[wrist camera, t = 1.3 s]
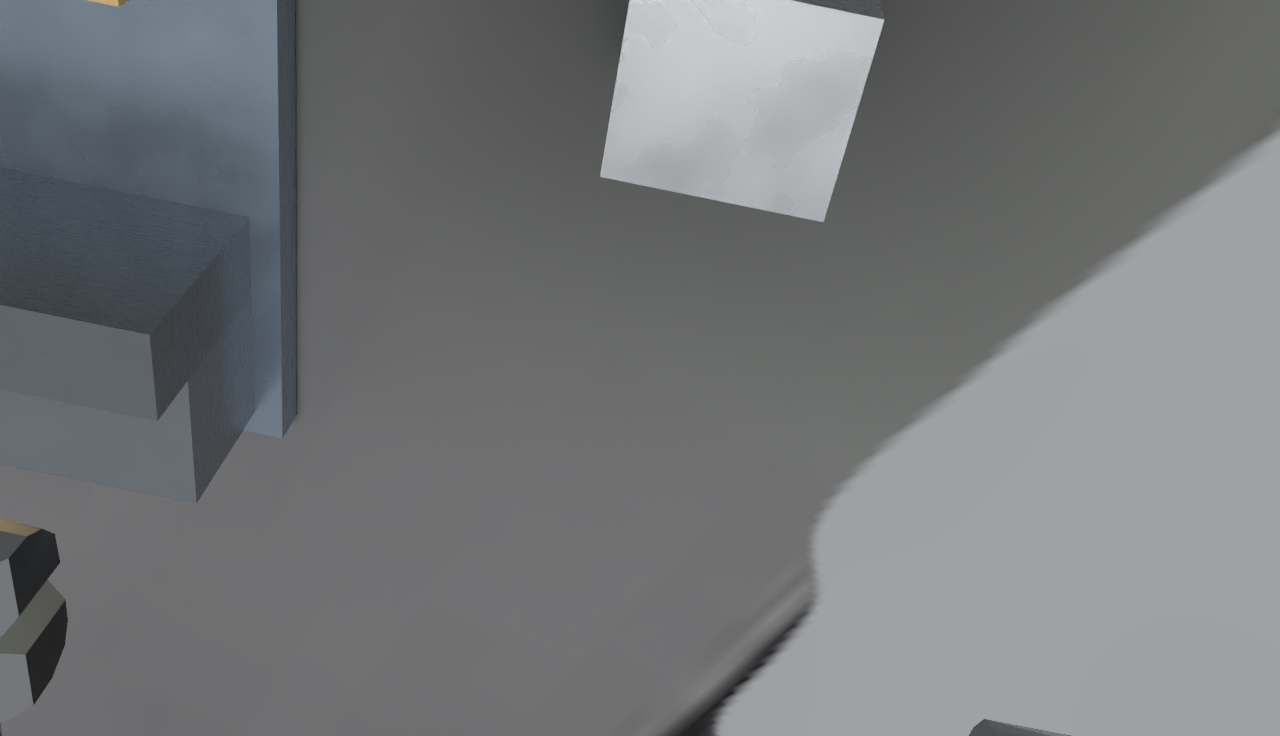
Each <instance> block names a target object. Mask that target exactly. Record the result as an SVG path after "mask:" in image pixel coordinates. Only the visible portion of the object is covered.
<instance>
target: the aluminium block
mask: <svg viewBox="0 0 1280 736" xmlns="http://www.w3.org/2000/svg"><path fill="white" fill-rule="evenodd" d="M883 23H884V16H883V12H882V8H881V4H880V0H629V6H628V12H627V18H626V24H625V30H624V36H623V42H622V48H621V54H620V60H619V66H618V72H617V78H616V84H615V90H614V96H613V102H612V108H611V114H610V120H609V126H608V132H607V138H606V144H605V150H604V156H603V162H602V167H601V173H600V177H604V178H608V179H613V180H618V181H623V182H628V183H633V184H638V185H643V186H648V187H653V188H658V189H662V190H667V191H672V192H677V193H682V194H687V195H692V196H697V197H702V198H707V199H712V200H717V201H721V202H726V203H731V204H736V205H741V206H746V207H751V208H756V209H761V210H766V211H771V212H775V213H780V214H785V215H790V216H795V217H800V218H805V219H810V220H815V221H820V222H824V219H825V216H826V212H827V209H828V206H829V202H830V199H831V196H832V192H833V189H834V186H835V182H836V179H837V176H838V172H839V169H840V166H841V163H842V159H843V156H844V153H845V149H846V146H847V143H848V139H849V136H850V133H851V129H852V126H853V123H854V119H855V116H856V113H857V109H858V106H859V103H860V99H861V96H862V93H863V89H864V86H865V83H866V79H867V76H868V73H869V69H870V66H871V63H872V60H873V56H874V53H875V50H876V46H877V43H878V40H879V36H880V33H881V30H882V26H883Z"/></svg>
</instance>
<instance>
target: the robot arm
mask: <svg viewBox="0 0 1280 736" xmlns="http://www.w3.org/2000/svg"><path fill="white" fill-rule="evenodd" d="M59 564H60V558H59V553H58V548H57V542H56V537H55V534H54V533H51V532H49V531H46V530H44V529H42V528H37V527H33V526H29V525H24V524H20V523H16V522H11V521H7V520H2V519H0V736H2V730H1V723H2V722H4V721H6V720H7V719H9V718H11V717H13V716H15V715H17V714H19V713H20V712H22V711H24V710H26V709H28V708H30V707H32V706H34V704H35V703H36V701H37V700H38V698H39V697H40V695H41V694H42V692H43V691H44V689H45V688H46V686H47V685H48V683H49V682H50V680H51V679H52V677H53V674H54V671H55V669H56V666H57V664H58V661H59V659H60V656H61V654H62V651H63V648H64V646H65V639H66V631H67V623H68V617H67V608H66V600H65V599H64V598H63V596H62V595H61V594H60V593H59V592H58V591H57V590H56V589H55V588H54V586H53V585H52V584H51V583H50V582H49V581H48V580H47V579H48V578H49V577H50V575H51V574H52V573H53V571H54V570H55V569H56V568H57V566H58V565H59ZM969 736H1070V735H1065V734H1059V733H1054V732H1049V731H1044V730H1038V729H1033V728H1028V727H1023V726H1018V725H1012V724H1007V723H1002V722H996V721H991V720H986V719H984V720H982V721H981V722H980V723H979V724H977V725H976V726H975V727H974V728H973V729H972V731H971V733H970V735H969Z"/></svg>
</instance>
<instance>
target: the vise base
mask: <svg viewBox="0 0 1280 736" xmlns="http://www.w3.org/2000/svg"><path fill="white" fill-rule="evenodd" d="M296 415H297V342H296V30H295V0H129V1H127V2H126V3H124V4H123V5H121V6H120V7H117V6H112V5H107V4H102V3H97V2H92V1H88V0H0V464H1V465H6V466H11V467H16V468H21V469H26V470H31V471H36V472H41V473H46V474H51V475H56V476H61V477H66V478H71V479H76V480H81V481H86V482H91V483H96V484H101V485H106V486H111V487H117V488H122V489H127V490H132V491H137V492H142V493H147V494H152V495H157V496H162V497H167V498H172V499H177V500H182V501H187V502H192V503H197V502H198V500H199V499H200V497H201V496H202V494H203V492H204V491H205V489H206V488H207V486H208V485H209V483H210V481H211V480H212V478H213V477H214V475H215V474H216V472H217V471H218V469H219V467H220V466H221V464H222V463H223V461H224V460H225V458H226V456H227V455H228V453H229V452H230V450H231V449H232V447H233V445H234V444H235V442H236V441H237V439H238V438H239V436H240V434H241V433H242V431H247V432H252V433H257V434H262V435H267V436H272V437H277V438H283V437H284V435H285V433H286V432H287V430H288V428H289V427H290V425H291V423H292V421H293V420H294V418H295V416H296Z"/></svg>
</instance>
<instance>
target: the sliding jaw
mask: <svg viewBox="0 0 1280 736" xmlns="http://www.w3.org/2000/svg"><path fill="white" fill-rule="evenodd" d="M88 1H92V2H97V3H102V4H107V5H112V6H117V7H120V6H121V5H123V4H124V3H126V2H127V1H129V0H88Z"/></svg>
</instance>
